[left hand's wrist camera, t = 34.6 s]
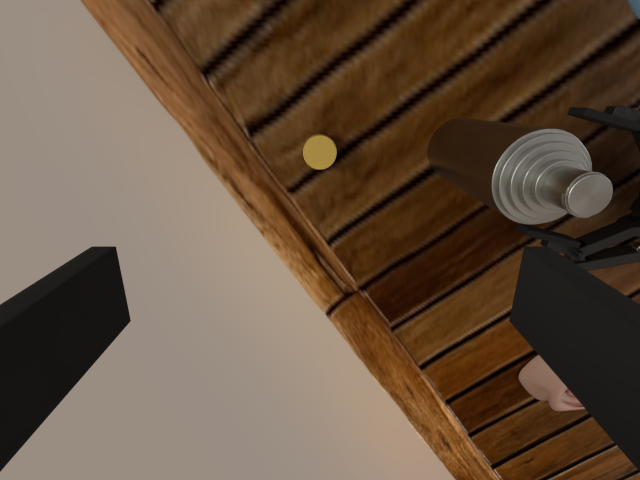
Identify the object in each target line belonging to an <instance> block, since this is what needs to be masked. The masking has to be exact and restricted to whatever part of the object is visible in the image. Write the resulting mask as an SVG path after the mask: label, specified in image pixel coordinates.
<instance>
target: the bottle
mask: <svg viewBox="0 0 640 480" xmlns="http://www.w3.org/2000/svg"><path fill="white" fill-rule="evenodd" d="M428 160H429V163H430V165H431V167H432V169H433V170H434V171H435V172H436V173H437V174H438V175H439V176H441V177H442V178H444V179H446V180H447V181H449V182H450V183H452V184H454V185H455V186H457V187H459V188H460V189H462V190H463V191H465V192H467V193H468V194H470V195H472V196H473V197H475V198H476V199H478V200H480V201H481V202H483V203H485V204H486V205H488V206H489V207H491V208H493V209H494V210H496V211H498V212H499V213H501V214H502V215H504V216H506V217H507V218H509V219H511V220H513V221H515V222H518V223H522V224H540V223H546V222H550V221H553V220H556V219H558V218H560V217H562V216H564V215H565V214H567V213H570V214H572V215H574V216H576V217H580V218H588V217H590V216H593V215H595V214H597V213H599V212H601V211H602V210H603V209H604V208H605V207H606V206H607V205H608V204H609V202H610V200H611V198H612V194H613V187H612V184H611V182H610V180H609V179H608V178H607V177H606V176H605V175H603V174H601V173H599V172H593V171H592V163H591V158H590V156H589V153H588V151H587V150H586V148H585V147H584V145H583V144H582V142H581V141H580V140H579V139H578V138H577V137H575V136H574V135H572V134H571V133H569V132H566V131H564V130H560V129H554V128H545V127H536V126H527V125H518V124H509V123H500V122H492V121H483V120H474V119H464V118H459V119H454V120H451V121H448V122H446V123H445V124H443V125H442V126H441V127H439V128H438V129H437V130H436V132H435V133H434V134H433V136H432V138H431V140H430V143H429V146H428Z"/></svg>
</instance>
